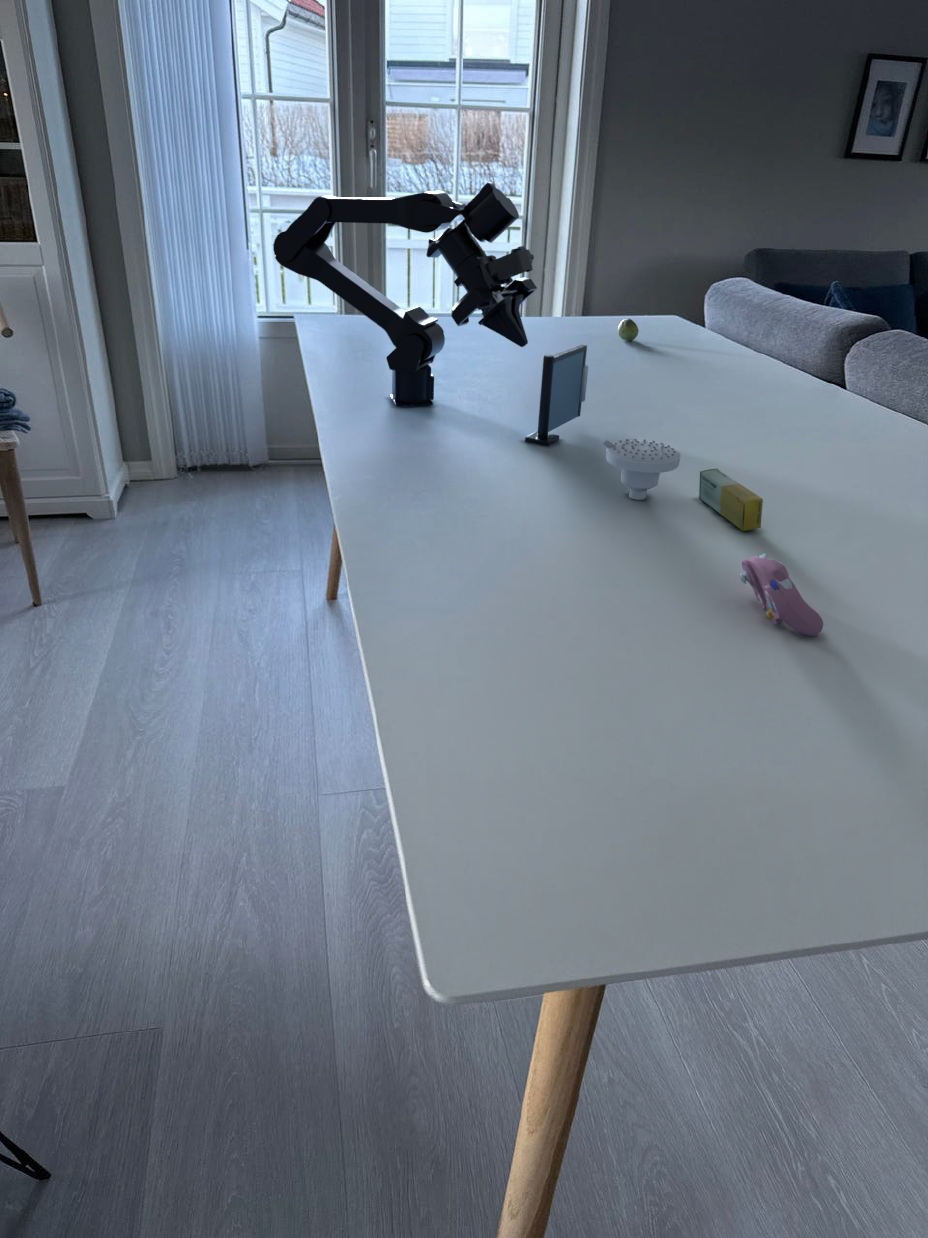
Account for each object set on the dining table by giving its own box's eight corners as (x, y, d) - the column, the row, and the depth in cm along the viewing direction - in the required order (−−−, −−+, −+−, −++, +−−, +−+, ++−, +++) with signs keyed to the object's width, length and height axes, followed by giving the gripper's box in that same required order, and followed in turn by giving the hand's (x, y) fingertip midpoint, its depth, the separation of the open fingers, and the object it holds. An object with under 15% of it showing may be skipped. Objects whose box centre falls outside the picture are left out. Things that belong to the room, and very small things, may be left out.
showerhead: (605, 429, 120) (681, 436, 119) (599, 481, 124) (673, 488, 122) (600, 450, 112) (682, 458, 111) (594, 505, 116) (673, 513, 114)
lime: (616, 338, 215) (618, 316, 213) (636, 339, 215) (639, 317, 212) (616, 341, 211) (619, 319, 209) (637, 342, 211) (640, 320, 208)
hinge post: (524, 441, 139) (530, 356, 133) (536, 435, 142) (542, 351, 136) (548, 446, 137) (555, 359, 131) (559, 440, 140) (566, 355, 134)
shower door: (542, 431, 140) (548, 356, 134) (574, 414, 149) (581, 344, 144) (556, 434, 139) (562, 358, 133) (587, 417, 148) (594, 346, 143)
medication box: (696, 498, 119) (698, 470, 117) (715, 496, 120) (717, 467, 118) (741, 531, 109) (744, 500, 107) (762, 528, 109) (765, 497, 107)
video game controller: (746, 606, 95) (728, 552, 92) (787, 588, 95) (770, 533, 91) (783, 653, 86) (764, 595, 83) (829, 634, 86) (811, 575, 83)
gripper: (473, 231, 130) (534, 321, 131) (531, 224, 145) (585, 305, 145) (425, 281, 137) (483, 366, 138) (485, 270, 152) (537, 347, 152)
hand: (525, 345), depth 143 cm, fingers closed
